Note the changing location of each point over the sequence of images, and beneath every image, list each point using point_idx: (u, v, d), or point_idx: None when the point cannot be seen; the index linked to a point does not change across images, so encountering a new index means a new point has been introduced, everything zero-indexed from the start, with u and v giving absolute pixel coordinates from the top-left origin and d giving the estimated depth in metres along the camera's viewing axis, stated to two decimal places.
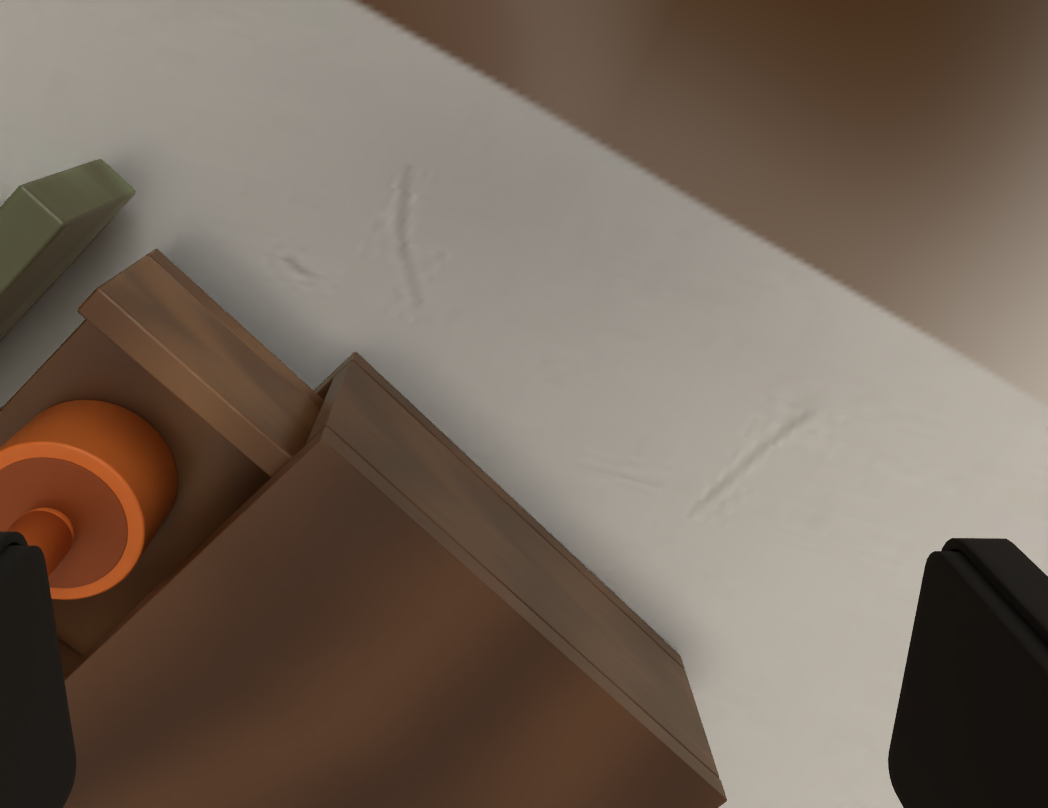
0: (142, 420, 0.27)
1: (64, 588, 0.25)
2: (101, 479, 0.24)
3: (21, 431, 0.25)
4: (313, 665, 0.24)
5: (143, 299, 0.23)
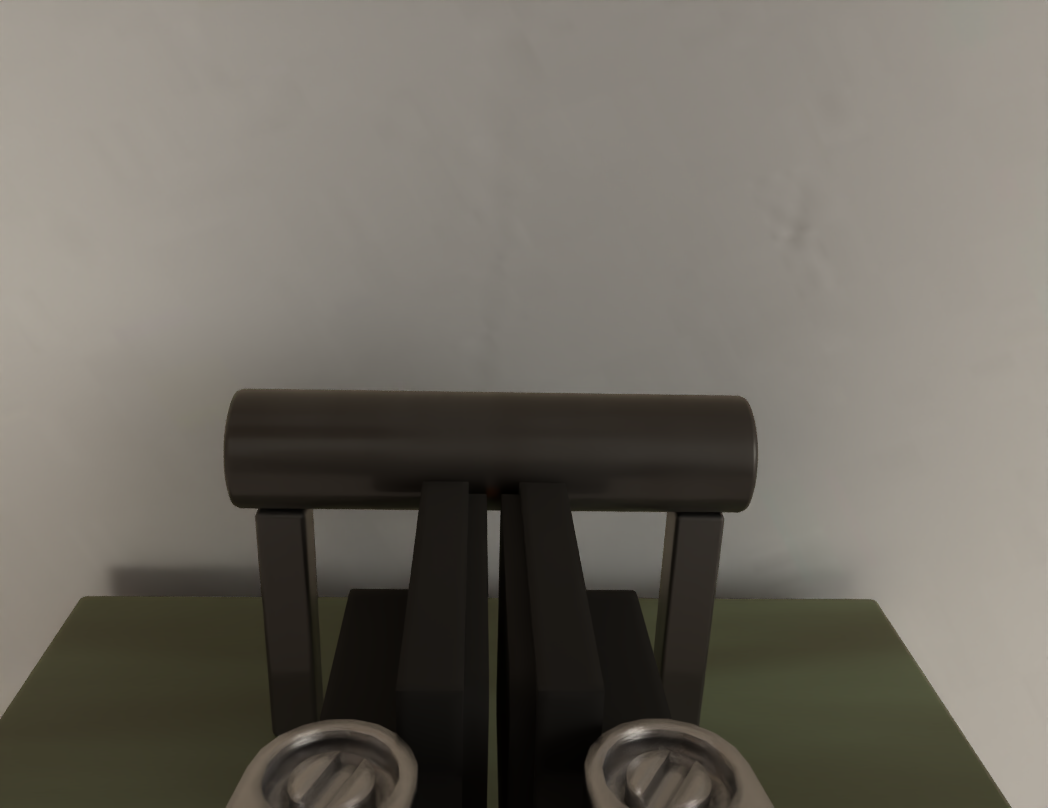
0: None
1: None
2: None
3: None
4: None
5: None
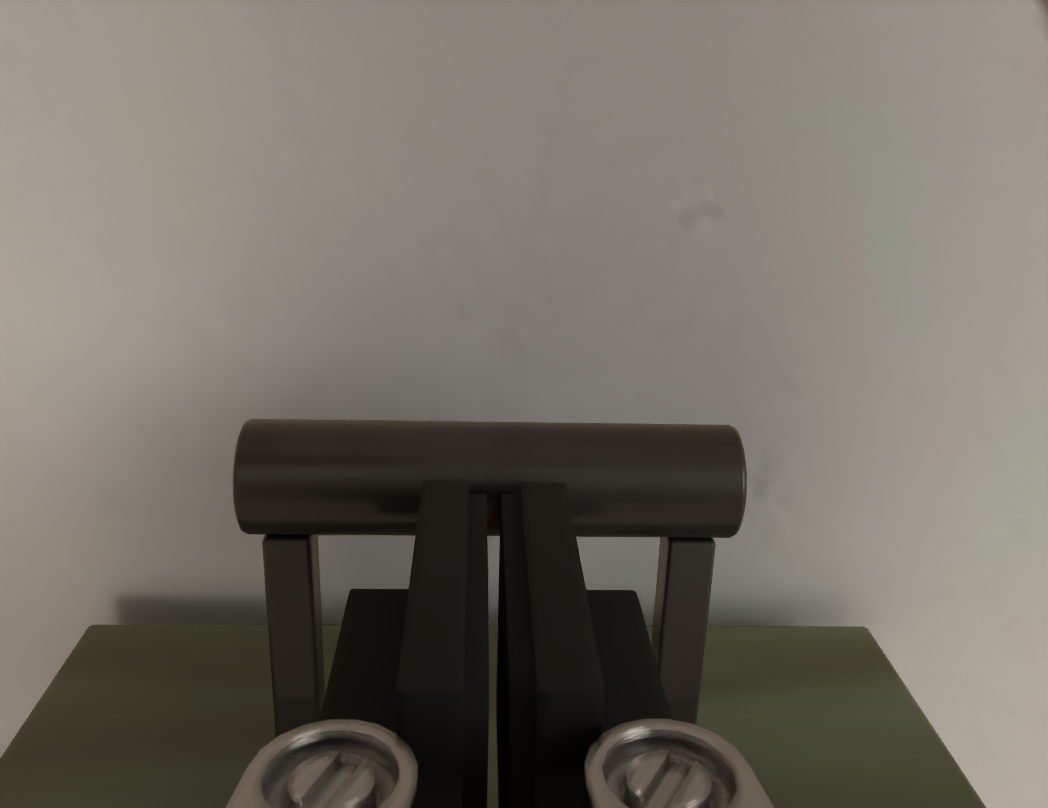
0: None
1: None
2: None
3: None
4: None
5: None
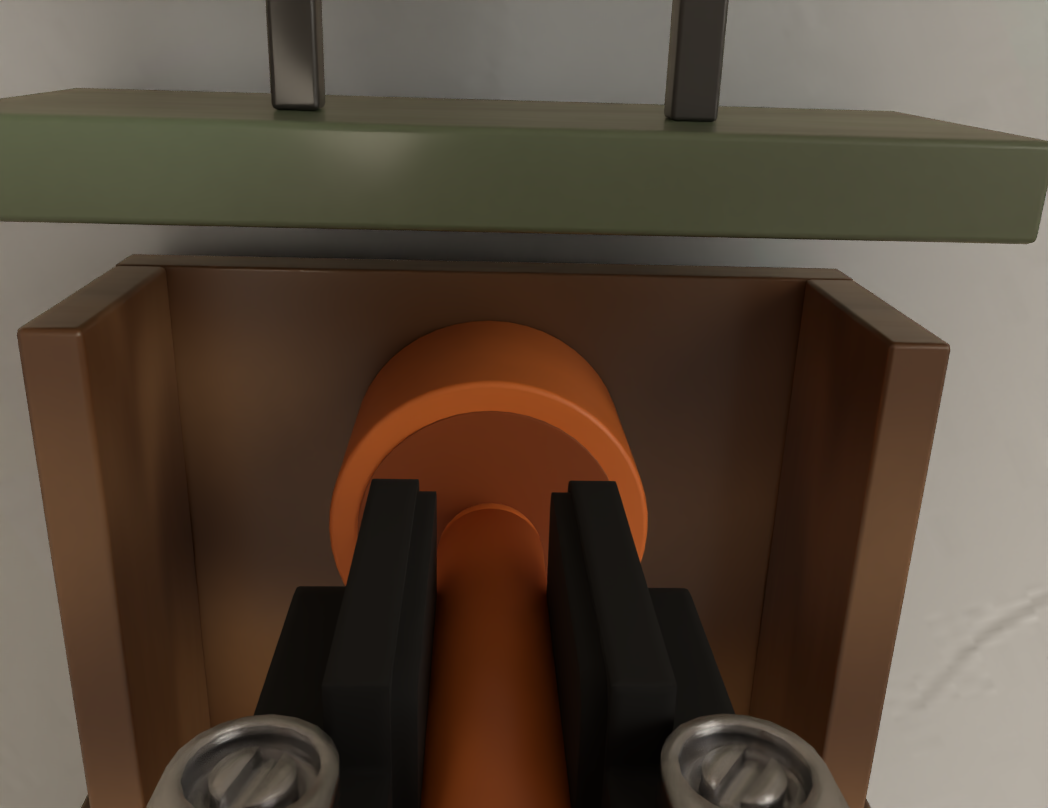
0: None
1: None
2: None
3: (536, 359, 0.14)
4: None
5: None
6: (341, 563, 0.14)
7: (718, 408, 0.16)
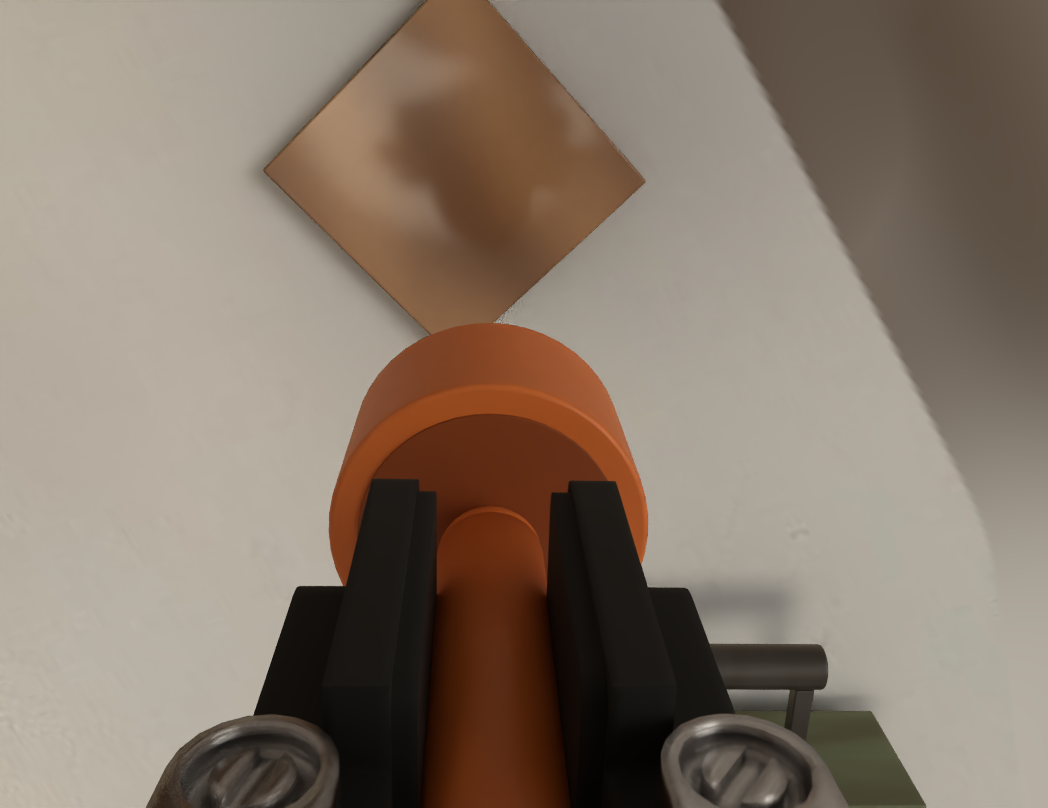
0: None
1: None
2: None
3: (536, 362, 0.14)
4: None
5: None
6: (341, 566, 0.14)
7: None
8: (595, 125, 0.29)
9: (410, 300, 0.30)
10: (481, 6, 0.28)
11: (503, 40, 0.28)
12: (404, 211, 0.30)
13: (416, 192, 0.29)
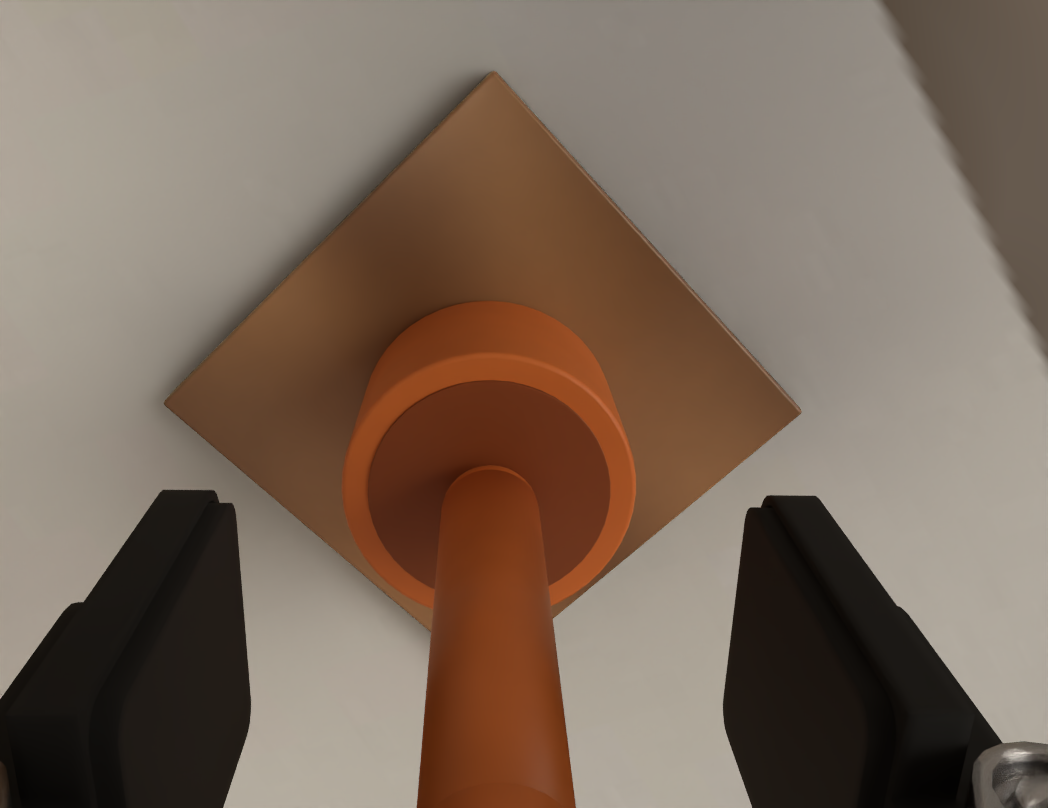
0: None
1: (404, 570, 0.15)
2: (608, 498, 0.15)
3: (533, 334, 0.15)
4: None
5: None
6: (352, 522, 0.15)
7: None
8: (722, 326, 0.17)
9: None
10: (533, 136, 0.16)
11: (570, 192, 0.16)
12: None
13: None
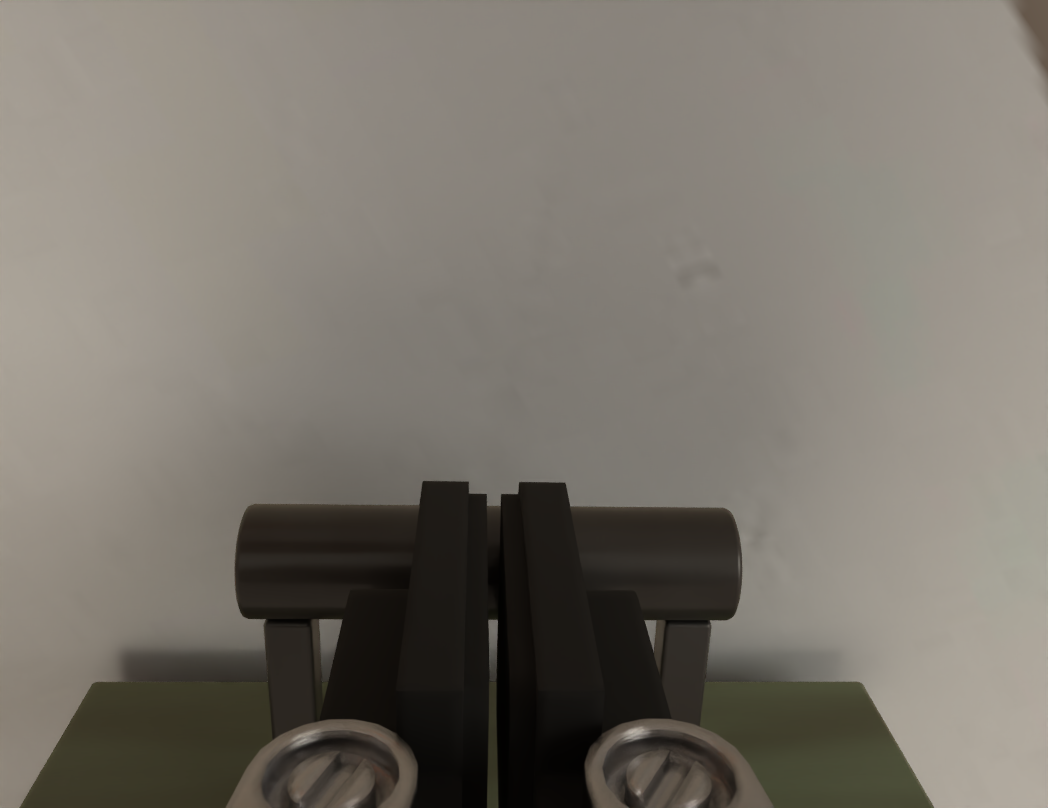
0: None
1: None
2: None
3: None
4: None
5: None
6: None
7: None
8: None
9: None
10: None
11: None
12: None
13: None
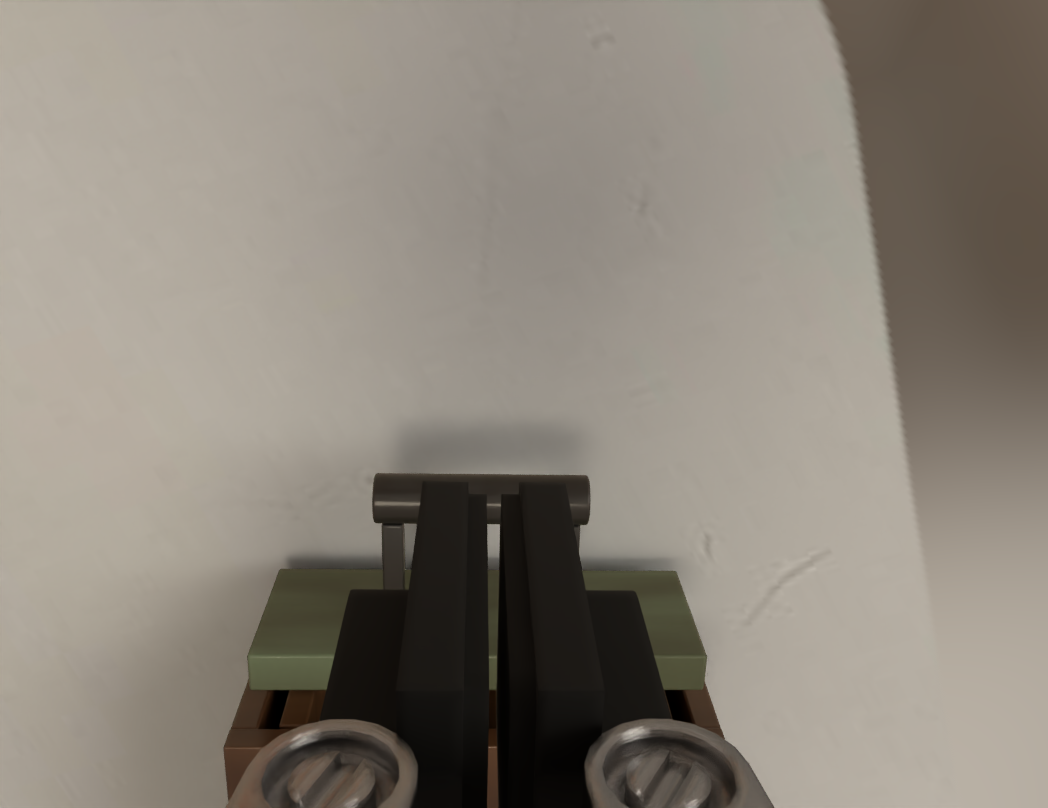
0: None
1: None
2: None
3: None
4: None
5: None
6: None
7: None
8: None
9: None
10: None
11: None
12: None
13: None
